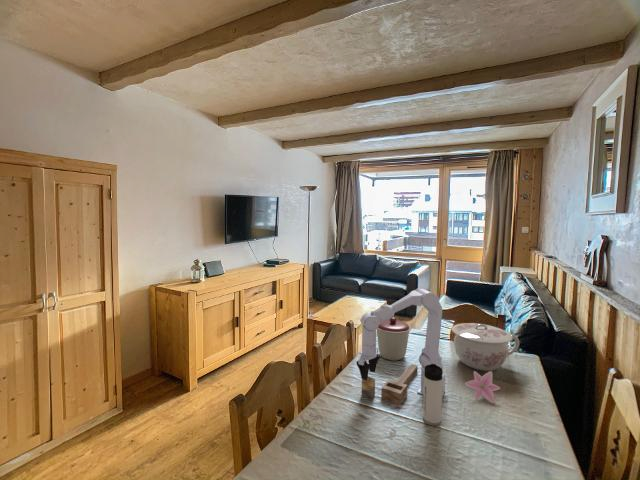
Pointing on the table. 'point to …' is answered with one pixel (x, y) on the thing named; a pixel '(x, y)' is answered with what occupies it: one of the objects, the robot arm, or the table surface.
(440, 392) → the travel mug
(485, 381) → the lily
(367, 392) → the tan square peg
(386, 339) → the canister
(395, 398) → the post
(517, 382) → the table surface
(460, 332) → the chamber pot
